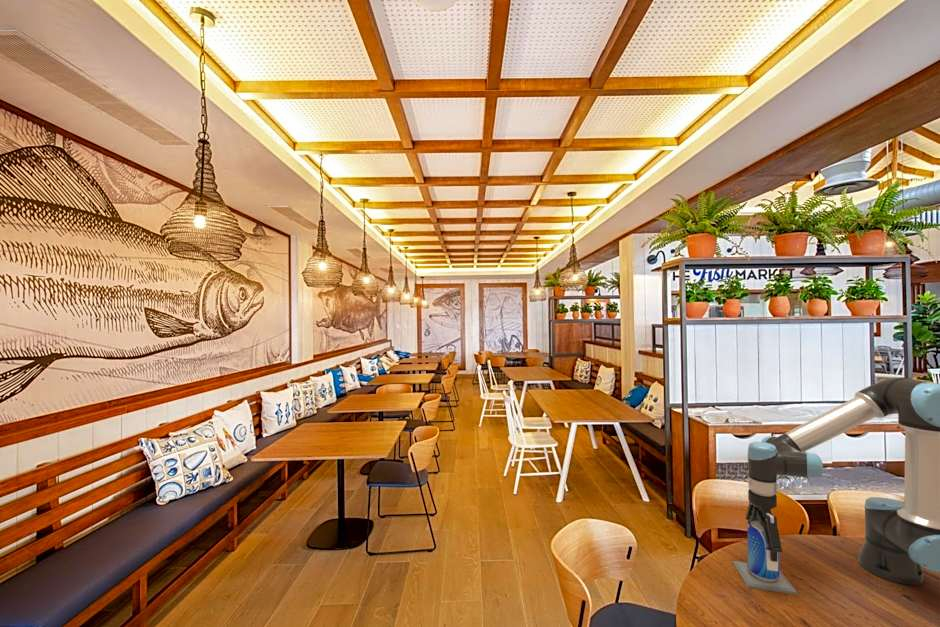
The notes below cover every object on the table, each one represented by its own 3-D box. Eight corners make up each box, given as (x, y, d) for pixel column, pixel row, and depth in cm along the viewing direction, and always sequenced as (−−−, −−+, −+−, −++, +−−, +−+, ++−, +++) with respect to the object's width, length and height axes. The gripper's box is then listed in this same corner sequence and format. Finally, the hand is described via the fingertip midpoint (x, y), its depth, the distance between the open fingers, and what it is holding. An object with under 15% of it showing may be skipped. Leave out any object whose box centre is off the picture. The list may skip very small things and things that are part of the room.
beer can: (784, 585, 128) (785, 534, 128) (754, 581, 130) (754, 531, 129) (771, 568, 136) (771, 520, 136) (742, 565, 138) (742, 518, 138)
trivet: (776, 568, 138) (776, 565, 138) (796, 594, 125) (796, 591, 125) (732, 562, 141) (732, 560, 141) (748, 587, 128) (748, 584, 128)
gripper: (734, 475, 146) (735, 535, 146) (766, 508, 122) (766, 579, 122) (758, 477, 144) (759, 537, 144) (795, 511, 120) (796, 583, 120)
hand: (762, 557), depth 133 cm, fingers open, 13 cm apart
